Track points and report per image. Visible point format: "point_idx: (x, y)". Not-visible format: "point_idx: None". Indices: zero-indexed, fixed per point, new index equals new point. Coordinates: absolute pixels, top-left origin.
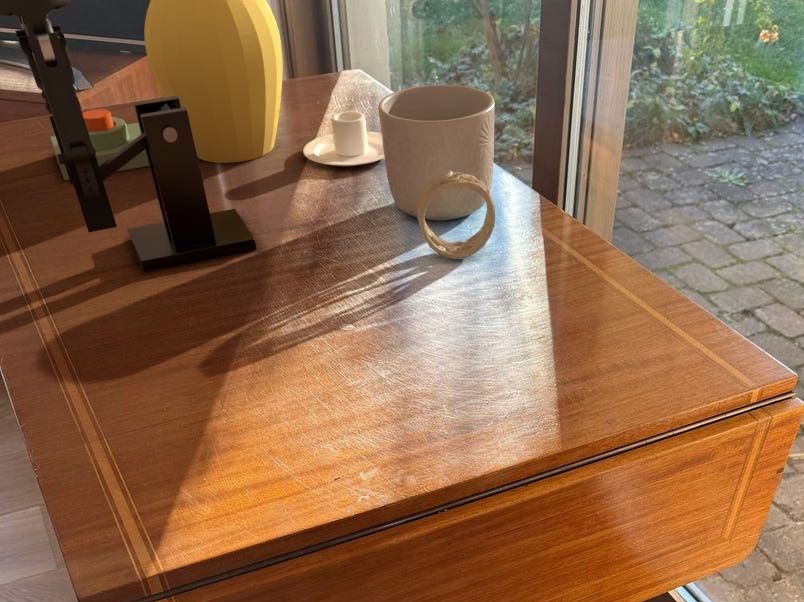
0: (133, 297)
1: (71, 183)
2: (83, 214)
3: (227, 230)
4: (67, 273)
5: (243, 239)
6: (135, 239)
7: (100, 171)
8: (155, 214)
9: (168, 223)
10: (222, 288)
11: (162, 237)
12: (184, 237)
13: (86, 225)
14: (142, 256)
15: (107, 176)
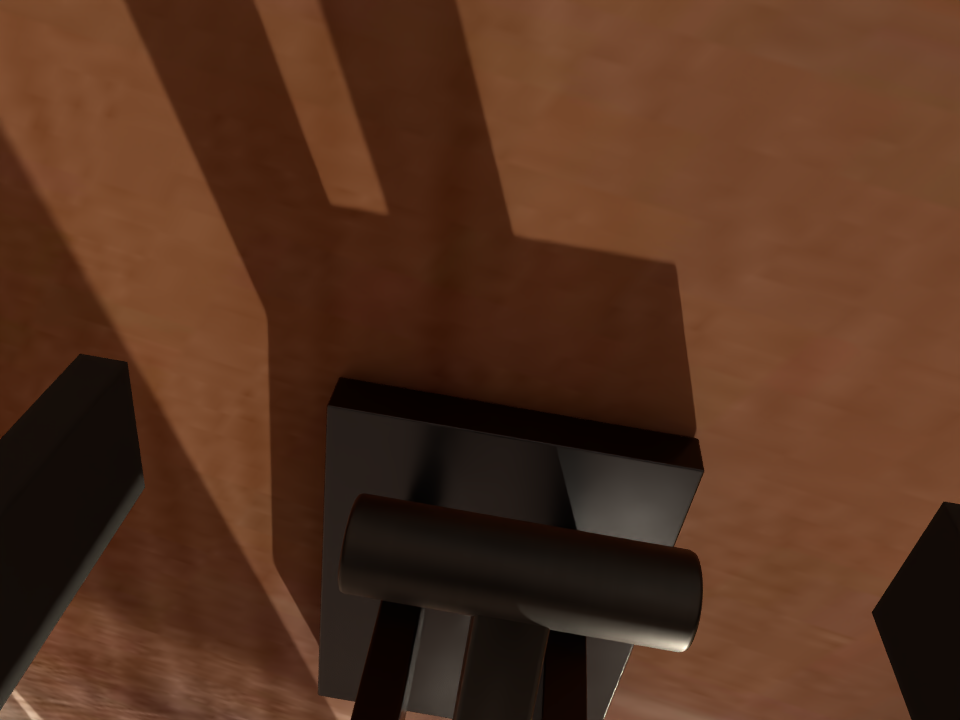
0: (125, 269)
1: (945, 509)
2: (19, 424)
3: (430, 675)
4: (532, 102)
5: (328, 676)
6: (564, 458)
7: (458, 713)
8: (869, 578)
9: (381, 606)
10: None
11: None
12: None
13: (91, 377)
14: (368, 423)
15: (456, 698)
